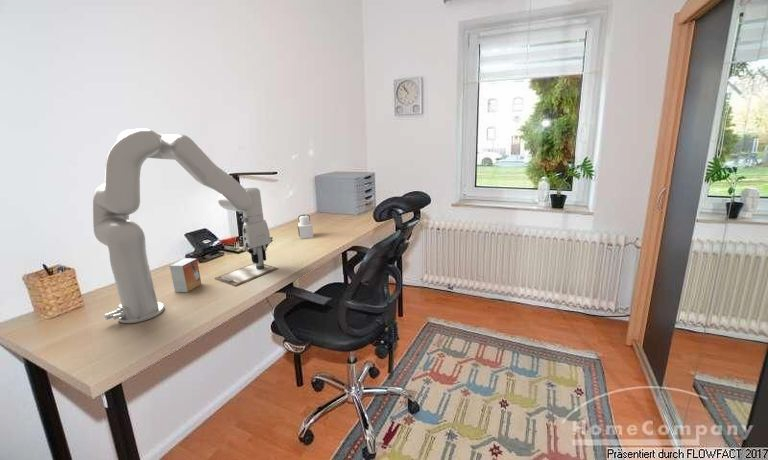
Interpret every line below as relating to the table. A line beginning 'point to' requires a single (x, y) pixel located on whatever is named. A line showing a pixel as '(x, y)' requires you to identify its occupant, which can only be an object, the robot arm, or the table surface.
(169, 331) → the table surface
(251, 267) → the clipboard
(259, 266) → the marker
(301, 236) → the medicine bottle
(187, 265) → the small box
